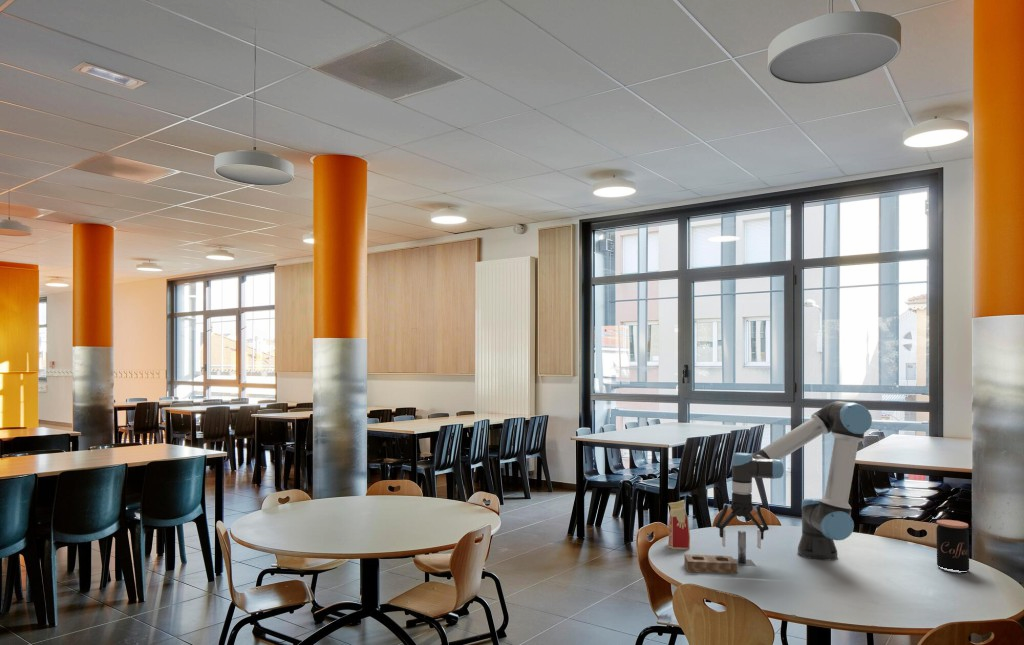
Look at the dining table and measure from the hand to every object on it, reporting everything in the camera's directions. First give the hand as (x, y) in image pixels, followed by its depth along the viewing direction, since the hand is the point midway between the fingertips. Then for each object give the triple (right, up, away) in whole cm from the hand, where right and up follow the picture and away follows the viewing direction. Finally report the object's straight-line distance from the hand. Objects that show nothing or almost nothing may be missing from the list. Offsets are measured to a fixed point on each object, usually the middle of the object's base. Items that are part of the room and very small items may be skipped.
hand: (741, 546), depth 274 cm
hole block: (-15, -6, -9) cm, 18 cm away
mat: (0, -6, 0) cm, 6 cm away
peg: (0, -6, 0) cm, 6 cm away
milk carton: (-19, -8, +23) cm, 31 cm away
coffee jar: (+81, -8, -4) cm, 82 cm away
